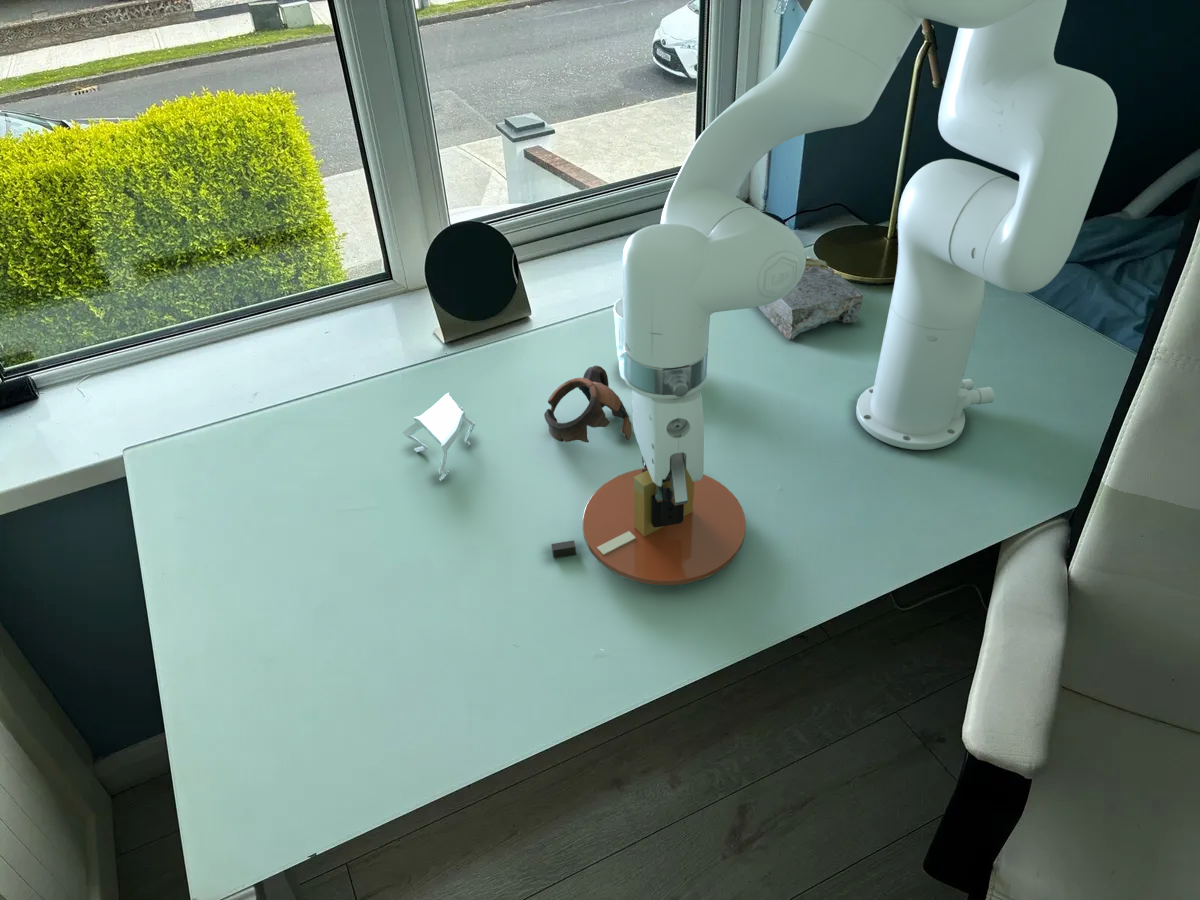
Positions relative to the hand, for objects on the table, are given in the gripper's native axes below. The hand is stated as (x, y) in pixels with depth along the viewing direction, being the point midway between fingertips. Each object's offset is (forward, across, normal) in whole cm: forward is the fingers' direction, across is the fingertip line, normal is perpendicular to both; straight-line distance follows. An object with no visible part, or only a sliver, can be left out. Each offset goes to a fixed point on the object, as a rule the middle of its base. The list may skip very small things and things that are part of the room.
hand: (662, 509), depth 93 cm
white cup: (+4, +30, -6) cm, 31 cm away
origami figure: (+5, +19, +22) cm, 29 cm away
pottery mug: (+4, +20, +4) cm, 21 cm away
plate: (+2, 0, 0) cm, 2 cm away
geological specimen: (+4, +40, -31) cm, 50 cm away
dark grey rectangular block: (+4, 0, +3) cm, 5 cm away
